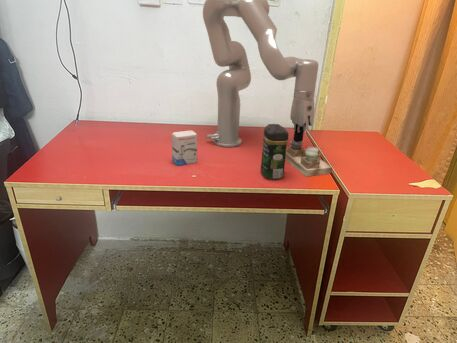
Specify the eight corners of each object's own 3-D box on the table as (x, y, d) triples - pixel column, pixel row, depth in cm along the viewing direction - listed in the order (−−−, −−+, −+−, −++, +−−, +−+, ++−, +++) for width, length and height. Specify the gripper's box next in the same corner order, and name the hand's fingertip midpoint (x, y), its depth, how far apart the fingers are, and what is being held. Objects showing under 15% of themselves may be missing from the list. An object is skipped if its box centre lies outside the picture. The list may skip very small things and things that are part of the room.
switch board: (305, 176, 125) (307, 164, 123) (282, 157, 141) (283, 145, 138) (331, 173, 129) (333, 161, 127) (306, 154, 144) (307, 143, 142)
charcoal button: (293, 154, 135) (294, 144, 133) (288, 149, 138) (289, 140, 136) (303, 153, 136) (304, 143, 134) (297, 148, 140) (299, 139, 138)
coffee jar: (257, 169, 129) (262, 122, 121) (278, 168, 131) (283, 122, 123) (264, 181, 121) (269, 131, 113) (285, 180, 122) (292, 131, 114)
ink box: (176, 166, 129) (175, 136, 123) (172, 161, 133) (171, 132, 127) (197, 162, 132) (197, 134, 127) (192, 157, 136) (192, 129, 131)
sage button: (308, 165, 125) (309, 155, 123) (301, 160, 129) (303, 150, 127) (318, 164, 127) (320, 154, 125) (312, 159, 130) (313, 149, 129)
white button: (309, 161, 132) (310, 151, 130) (303, 156, 135) (304, 147, 134) (319, 160, 133) (320, 150, 131) (313, 155, 137) (314, 146, 135)
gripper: (323, 98, 122) (316, 146, 130) (302, 89, 134) (296, 133, 142) (305, 100, 119) (299, 148, 127) (285, 90, 132) (280, 135, 140)
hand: (297, 140), depth 135 cm, fingers closed
